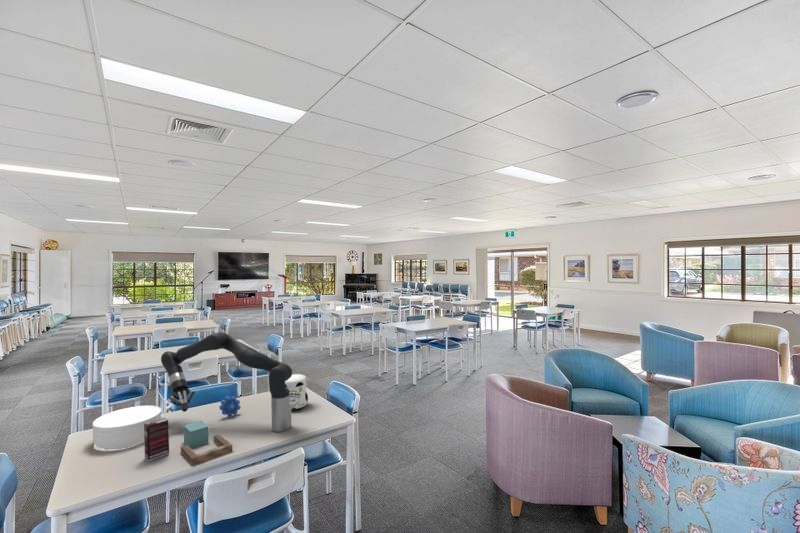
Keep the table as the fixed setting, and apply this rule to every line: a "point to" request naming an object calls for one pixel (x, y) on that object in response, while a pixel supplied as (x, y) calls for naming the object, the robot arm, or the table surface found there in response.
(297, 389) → the milk container
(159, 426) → the supplement box
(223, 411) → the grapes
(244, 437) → the table surface
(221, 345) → the robot arm
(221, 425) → the table surface
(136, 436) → the plate stack
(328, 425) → the table surface
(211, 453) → the walnut bay
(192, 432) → the teal block
